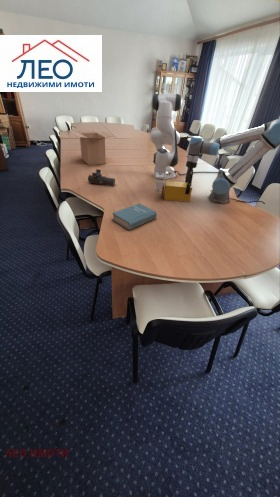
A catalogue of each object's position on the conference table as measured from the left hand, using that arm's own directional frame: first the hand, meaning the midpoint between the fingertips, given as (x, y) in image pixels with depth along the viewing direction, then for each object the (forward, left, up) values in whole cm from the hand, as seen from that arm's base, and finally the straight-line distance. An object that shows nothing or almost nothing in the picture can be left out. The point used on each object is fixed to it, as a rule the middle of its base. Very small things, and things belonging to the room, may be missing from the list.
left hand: (158, 191), depth 169 cm
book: (+33, +28, -4) cm, 43 cm away
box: (+19, -103, -4) cm, 105 cm away
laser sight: (+33, -37, -4) cm, 50 cm away
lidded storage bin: (-13, +8, -4) cm, 15 cm away
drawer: (-8, +5, -3) cm, 10 cm away
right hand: (-18, +11, +2) cm, 21 cm away
